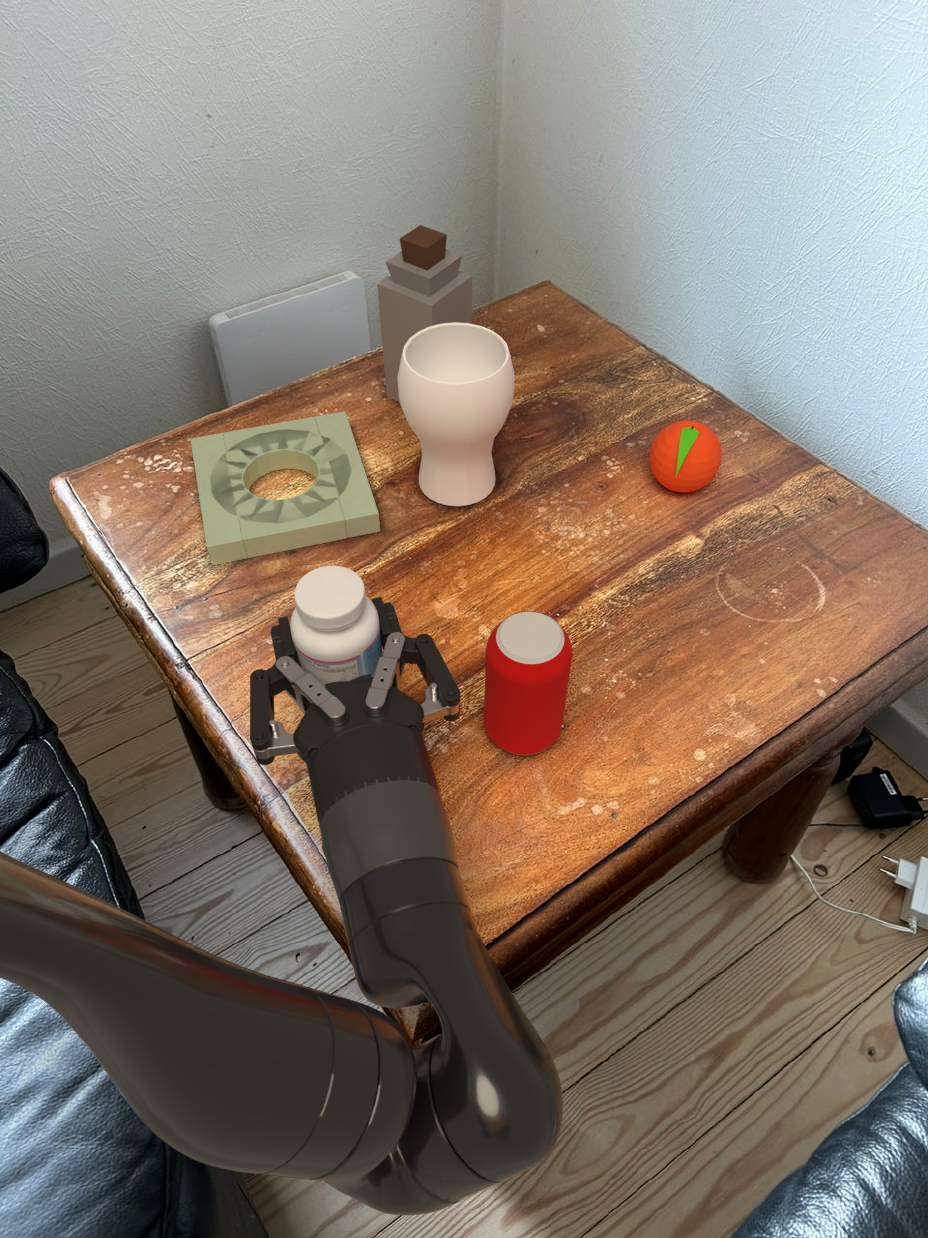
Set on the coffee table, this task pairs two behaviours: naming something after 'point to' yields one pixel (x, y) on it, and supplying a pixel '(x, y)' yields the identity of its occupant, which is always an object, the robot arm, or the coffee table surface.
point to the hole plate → (281, 525)
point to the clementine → (685, 456)
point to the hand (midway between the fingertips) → (330, 615)
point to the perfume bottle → (420, 295)
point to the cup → (456, 407)
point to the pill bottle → (335, 626)
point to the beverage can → (526, 682)
